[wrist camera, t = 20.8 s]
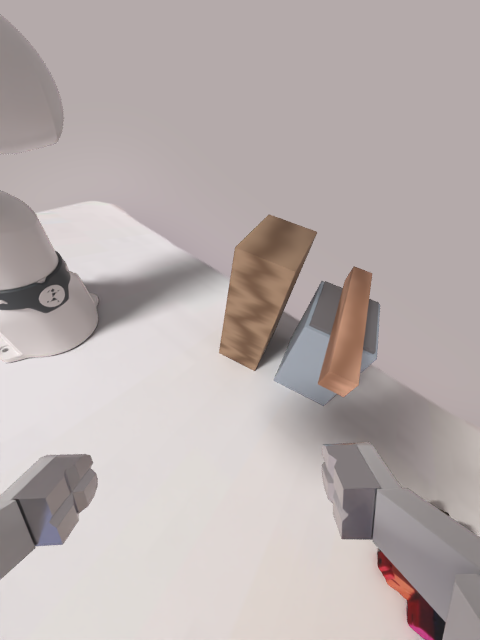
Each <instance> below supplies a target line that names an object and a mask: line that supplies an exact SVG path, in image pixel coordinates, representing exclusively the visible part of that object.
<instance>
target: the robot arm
mask: <svg viewBox="0 0 480 640" xmlns="http://www.w3.org/2000/svg"><path fill="white" fill-rule="evenodd" d="M63 119H64V117H63V107H62V102H61V98H60V94H59V91H58V89H57V86H56V84H55V82H54V80H53V78H52V75H51V73H50V72H49V70H48V68H47V67H46V65H45V63H44V61H43V60H42V59H41V57H40V56H39V54H38V53H37V51H36V50H35V49H34V48H33V46H32V45H31V44H30V43H29V42H28V40H26V38H25V37H24V36H23V35H22V34H21V33H20V32H19V31H18V30H17V29H16V28H15V27H14V26H13V25H12V24H11V23H10V22H9V21H8V20H6V19H5V18H4V17H3V16H2V15H0V154H17V153H22V152H26V151H31V150H35V149H39V148H43V147H46V146H49V145H53V144H56V143H57V142H58V140H59V138H60V136H61V133H62V129H63V121H64V120H63ZM98 302H99V299H98V297H97V296H96V295H95V294H92V293H89V292H88V291H87V289H86V287H85V286H84V284H83V282H82V281H81V279H80V277H79V276H78V275H77V274H76V273H73V272H70V271H69V270H68V267H67V265H66V263H65V261H64V260H63V259H62V257H61V256H60V254H59V253H58V252H56V251H55V250H54V248H53V246H52V244H51V242H50V240H49V238H48V236H47V235H46V233H45V231H44V229H43V227H42V225H41V223H40V221H39V219H38V217H37V215H36V214H35V212H34V211H33V210H32V209H31V208H30V207H29V206H28V205H27V204H25V203H24V202H23V201H21V200H20V199H18V198H16V197H14V196H12V195H10V194H8V193H6V192H3V191H1V190H0V359H1V360H2V361H3V362H5V363H10V362H15V361H18V360H22V359H25V358H29V357H45V356H52V355H56V354H60V353H63V352H65V351H68V350H70V349H72V348H74V347H76V346H78V345H79V344H81V343H82V342H83V341H85V340H86V339H87V338H88V337H89V336H90V335H91V334H92V333H93V331H94V330H95V328H96V326H97V323H98V313H97V310H96V307H97V305H98ZM6 351H7V352H6ZM322 456H323V459H324V461H325V462H324V463H323V464H322V478H323V484H324V488H325V492H326V495H327V498H328V499H329V500H330V501H331V502H332V503H333V516H334V518H335V521H336V524H337V527H338V530H339V533H340V536H341V539H372V540H373V543H374V544H375V545H376V546H377V547H378V548H379V549H380V550H381V551H382V552H383V554H384V555H385V556H386V557H387V558H388V559H389V560H390V561H391V562H392V564H393V565H394V566H395V567H396V568H397V569H398V570H399V571H400V572H401V574H402V575H403V576H404V577H405V578H406V579H407V580H408V581H409V582H410V584H411V585H412V586H413V587H414V588H415V589H416V590H417V591H418V592H419V593H420V595H421V596H422V597H423V598H424V599H425V600H426V601H427V602H428V603H429V605H430V606H431V607H432V608H433V609H434V610H435V611H436V612H437V613H438V615H439V616H440V617H441V618H442V619H443V620H444V621H445V622H446V625H445V629H444V634H443V639H442V640H480V537H479V536H477V535H476V534H474V533H473V532H471V531H470V530H468V529H467V528H465V527H464V526H463V525H461V524H460V523H458V522H457V521H455V520H454V519H452V518H451V517H449V516H448V515H446V514H445V513H443V512H442V511H440V510H439V509H438V508H436V507H435V506H433V505H432V504H430V503H429V502H427V501H426V500H424V499H423V498H421V497H420V496H418V495H417V494H416V493H414V492H413V491H411V490H410V489H408V488H402V487H401V486H400V484H399V483H398V481H397V480H396V478H395V477H394V475H393V474H392V473H391V471H390V470H389V468H388V467H387V465H386V464H385V462H384V461H383V460H382V458H381V457H380V455H379V454H378V452H377V451H376V449H375V448H374V447H373V445H372V444H371V443H369V442H359V443H343V444H323V446H322ZM92 464H93V461H92V458H91V456H90V455H87V454H73V455H46V456H44V457H41V458H40V459H39V460H38V461H37V462H36V463H34V464H33V465H32V466H31V467H30V468H29V469H28V470H27V471H26V472H25V473H24V474H23V475H22V476H21V477H20V478H18V479H17V480H16V481H15V482H14V483H13V484H12V485H11V486H10V487H9V488H8V489H7V490H6V491H5V492H4V493H3V494H1V495H0V579H2V578H3V577H4V576H5V575H6V574H7V573H8V572H9V571H10V570H12V569H13V568H14V567H15V566H16V565H17V564H18V563H19V562H20V561H22V560H23V559H24V558H25V557H26V556H27V555H28V554H29V553H30V552H32V551H33V550H34V549H35V546H48V545H63V544H64V542H65V541H66V539H67V538H68V536H69V535H70V533H71V531H72V530H73V528H74V527H75V525H76V524H77V522H78V521H79V513H80V512H81V511H82V510H84V509H85V508H86V507H87V506H88V505H89V504H90V502H91V501H92V499H93V498H94V495H95V492H96V489H97V485H98V478H97V475H96V473H95V472H94V471H93V470H92V469H91V466H92Z"/></svg>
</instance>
